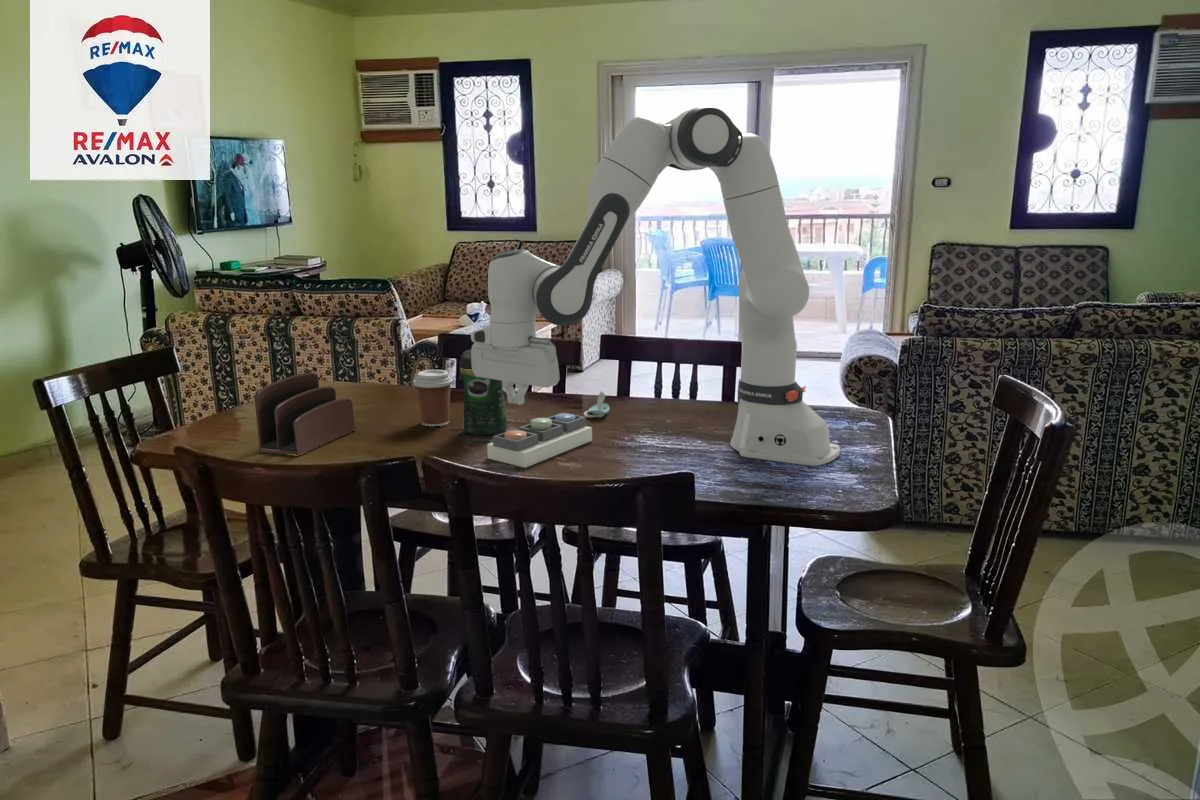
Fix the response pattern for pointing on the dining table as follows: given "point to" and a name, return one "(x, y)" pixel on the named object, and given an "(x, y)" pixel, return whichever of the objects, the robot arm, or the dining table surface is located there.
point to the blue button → (565, 417)
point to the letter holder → (300, 415)
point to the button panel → (540, 442)
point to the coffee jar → (481, 401)
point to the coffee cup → (433, 396)
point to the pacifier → (598, 407)
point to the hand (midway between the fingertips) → (516, 403)
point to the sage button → (541, 424)
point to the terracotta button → (515, 435)
